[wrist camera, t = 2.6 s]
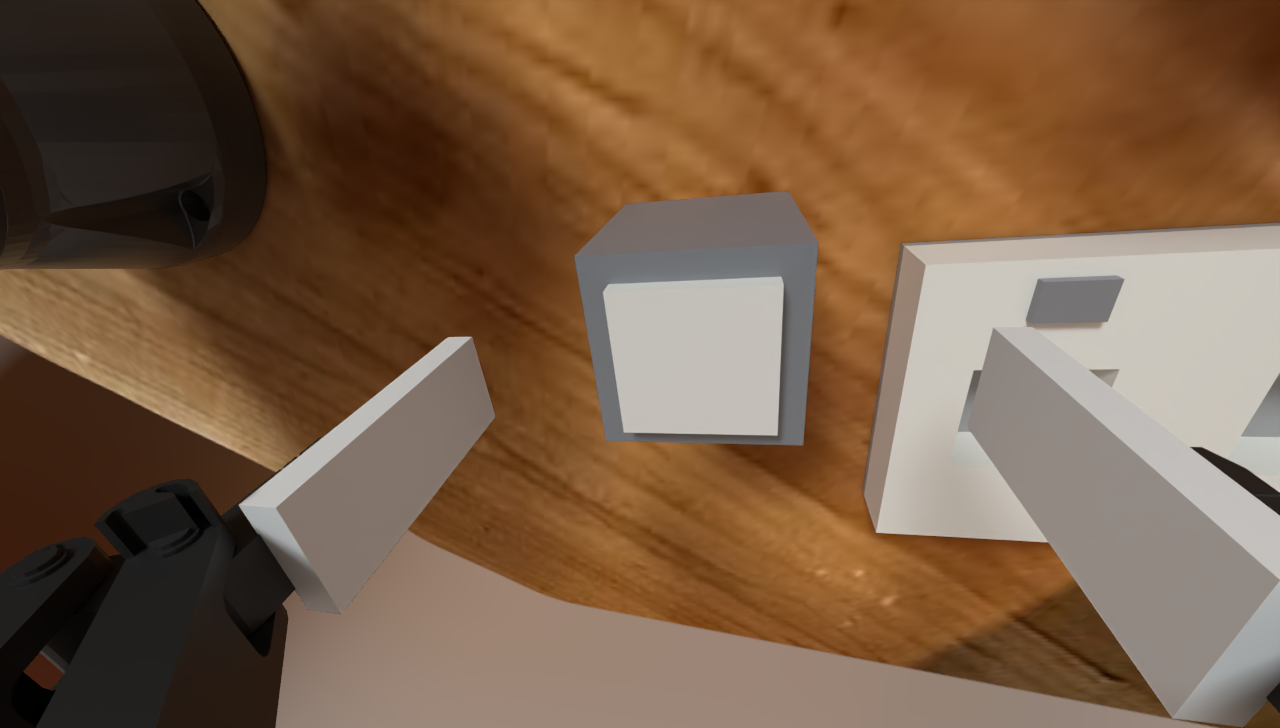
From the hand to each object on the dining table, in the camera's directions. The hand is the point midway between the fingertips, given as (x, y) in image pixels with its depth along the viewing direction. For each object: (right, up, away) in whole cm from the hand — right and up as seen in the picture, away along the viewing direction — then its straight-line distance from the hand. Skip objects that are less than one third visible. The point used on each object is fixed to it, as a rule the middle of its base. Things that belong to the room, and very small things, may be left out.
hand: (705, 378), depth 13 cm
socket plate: (+20, -1, +9) cm, 22 cm away
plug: (+2, +5, +9) cm, 11 cm away
